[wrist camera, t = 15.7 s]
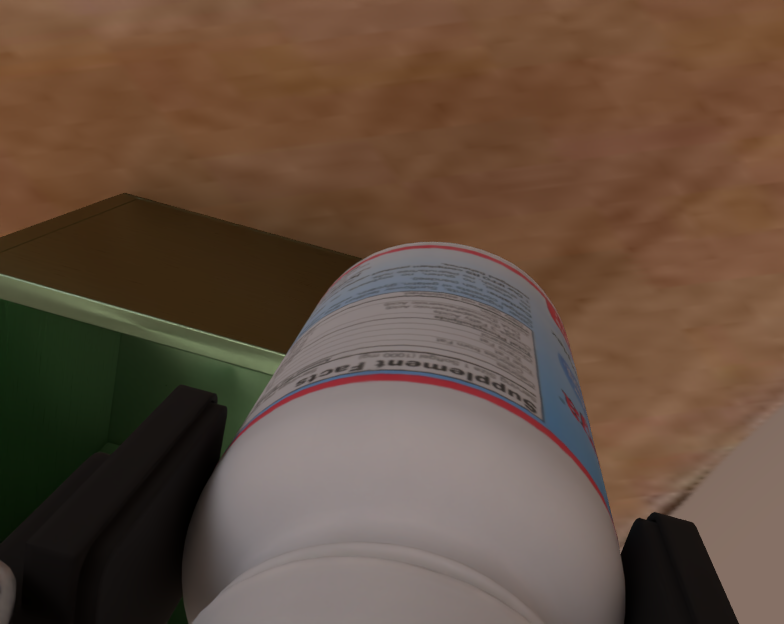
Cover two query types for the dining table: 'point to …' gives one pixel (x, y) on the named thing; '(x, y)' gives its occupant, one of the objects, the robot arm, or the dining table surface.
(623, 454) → the dining table surface
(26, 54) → the dining table surface
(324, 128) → the dining table surface
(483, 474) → the pill bottle
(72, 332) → the waste bin
